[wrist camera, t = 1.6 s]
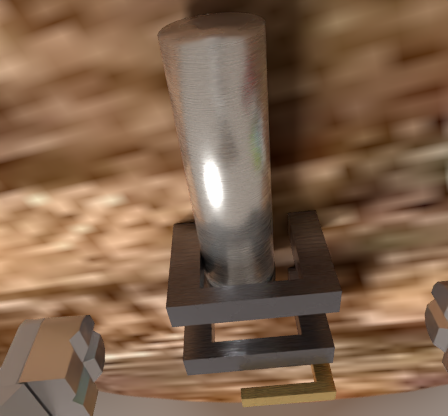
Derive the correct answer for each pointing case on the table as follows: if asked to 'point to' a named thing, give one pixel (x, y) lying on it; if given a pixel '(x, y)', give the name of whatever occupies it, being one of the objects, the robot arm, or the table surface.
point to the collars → (259, 314)
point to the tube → (224, 139)
